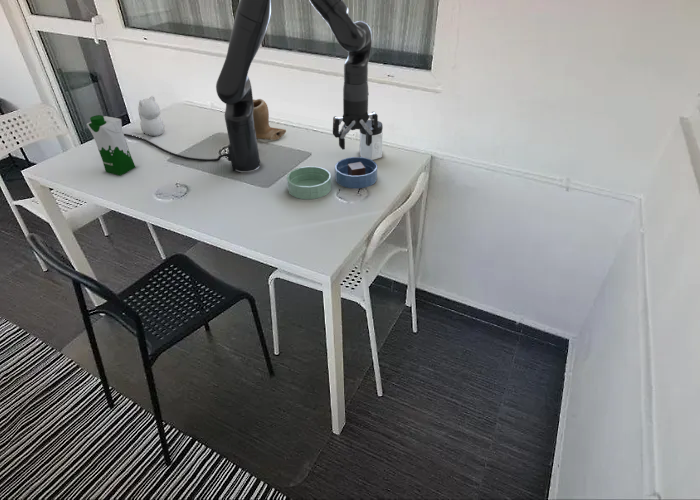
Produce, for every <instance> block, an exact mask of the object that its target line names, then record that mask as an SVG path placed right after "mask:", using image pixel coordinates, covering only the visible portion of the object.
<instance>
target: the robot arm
mask: <svg viewBox="0 0 700 500" xmlns="http://www.w3.org/2000/svg"><path fill="white" fill-rule="evenodd" d="M308 1H309V2H310V4H311V6H312V7H313V8H314V10H315V11H316V12H317V13H318V14H319V15H320V16H321V18H322V19H323V20H324V21H325V22H326V24H327V25H328V27H329V29H330V31H331V32H332V34H333V36H334V38H335V40H336V41H337V43H338V44H339V46H340V47H341V48H342V49H343V50H344V51H346V52H348V53H347V58H346V60H345V62H344V64H343V86H342V105H343V106H342V107H343V109H342V112H343V114H342V116H338V117H337V116H333V118H332V135H333V137H335V138H337V139H338V146H339V147H340V149H341V150H345V149H346V138H345V137H346V136H347V135H348V134H349V132H351V131H356V130H360V129H361V128H364V129H365V130H366V131H367V133H366V145H367V146H370V144H371V143H372V134H373V133H374V132H378V121H379V118H378V117H379V116H378V114H377V113H376V112H375V111H371V113H369V96H370V95H369V82H368V80H369V61H370V57H371V56H370V55H371V50H372V43H373V33H372V30H371V27H370V26H369V25H368V23H366V22H364V21H362V20H359V21H358V20H357V21H355V22H354V21H353V19H352V18H351V17H350V15H349V6H348V5H347V4H346V2H345V1H344V0H308ZM236 8H237V9H236V12H235V16H234V21H233V24H232V29H231V33H230V38H229V43H228V47H227V53H226V56H225V60H224V62H223V65H222V68H221V70H220V73H219V75H218V78H217V80H216V84H215V91H216V94H217V97H218V98H219V100H220V101H221V102H222V103H224V104H225V110H224V121H225V127H226V131H227V137H228V145H227V149H228V151H227V153H222V154H220V155H219V156H217V158H211V159H210V158H198V157H189V156H185V155H181V154H177V153H175V152H171V151H169V150H167V149H164V148H162V147H161V146H159V145H157V144H155V143H153V142H151V141H150V140H148V139H145V138H143V137H140V136H137V135H134V134H128V133H124V137H129V138H134V139H137V140H140V141H143V142H145V143H147V144H150V146H153V147H155V148H157V149H158V150H160V151H162V152H163V153H166V154H169V155H170V156H172V157H173V156H174V157H177V158H180V159H182V160H183V159H184V160H188V161H189V160H190V161H195V162H196V161H197V162H218V161H220V160H221V158H225V157H227V161H229V162H230V163H231V168H232V171H233V172H237V173H239V174H241V173H252V172H254V171H257V170H258V169H260V168H261V167H262V164H261V160H260V154H259V147H258V139H256V132H255V125H254V119H253V110H254V105H253V100H254V97H253V88H252V83H251V79H250V78H249V76H248V74H249V71H250V68H251V65H252V63H253V61H254V60H255V57H256V55H257V54H258V51H259V50H260V47H261V45H262V43H263V41H264V38H265V35H266V33H267V29H268V26H269V22H270V20H271V15H272V14H271V13H272V0H239V2H238V6H237V7H236ZM368 120H372V128H370V129H369V127H368V126H367V125H366V122H367V121H368ZM342 122H343V124H342ZM341 124H342V126H341V128H340V125H341ZM132 135H133V136H132ZM136 136H137V137H136ZM139 137H140V138H139ZM142 138H143V139H142Z"/></svg>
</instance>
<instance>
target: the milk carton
mask: <svg viewBox="0 0 700 500" xmlns="http://www.w3.org/2000/svg"><path fill="white" fill-rule="evenodd" d="M89 120H90V121H89V122H87V123H86V126H87V128H88V130H89V131H90V134H91V135H92V137H93V140H94V142H95V144H96V147H97V149H98V152H99V155H100V157H101V161H102V164H103V167H104V170H105V173H108V174H111V175H116V176H119V177H121V176H123V175H125V174H126V173H128V172H130V171H132V170H134V169H136V164H135V162H134V160H133V157H132V155H131V152H130V149H129V146H128V143H127V139H126V136H124V134H125V133H124V130H123V123H122V118H118V117H112V116H106V115H102V114H96V115H93V116H91V117H89Z"/></svg>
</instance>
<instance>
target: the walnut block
mask: <svg viewBox="0 0 700 500" xmlns="http://www.w3.org/2000/svg"><path fill="white" fill-rule="evenodd" d="M348 175H351V176H360V175H365V167H364V166H363V164H362V163H361V162H357V163H351V164H348Z"/></svg>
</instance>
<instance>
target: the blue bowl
mask: <svg viewBox="0 0 700 500" xmlns="http://www.w3.org/2000/svg"><path fill="white" fill-rule="evenodd" d="M357 162H361V163H362V164H363V166H364V167H365V175H360V176H351V175H348V164H351V163H357ZM334 180H335V182H336V184H338V185H339V186H340V187H344V188H349V189H365V188H368V187H371V186H373V185H375V184H376V182H377V180H378V164H377V163H376V161H374V160H370V159H367V158H362V157H360V156H352V157H351V156H350V157H346V158H343V159H340V160H338V161H336V163H335V165H334Z"/></svg>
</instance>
